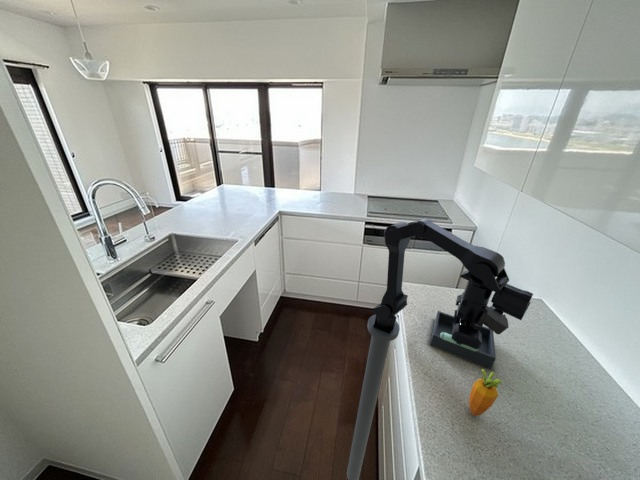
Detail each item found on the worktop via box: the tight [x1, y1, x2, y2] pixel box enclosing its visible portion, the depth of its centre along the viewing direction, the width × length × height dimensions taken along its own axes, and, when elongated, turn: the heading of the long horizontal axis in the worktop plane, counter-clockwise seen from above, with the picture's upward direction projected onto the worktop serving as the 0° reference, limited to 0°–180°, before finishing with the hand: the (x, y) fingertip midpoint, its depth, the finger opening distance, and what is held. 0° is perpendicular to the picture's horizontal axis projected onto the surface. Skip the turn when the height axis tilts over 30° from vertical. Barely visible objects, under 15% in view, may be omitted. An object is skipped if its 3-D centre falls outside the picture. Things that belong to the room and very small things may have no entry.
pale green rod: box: [440, 332, 478, 351], centre depth 73 cm, size 10×2×2 cm, turn 61°
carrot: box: [468, 368, 502, 417], centre depth 62 cm, size 5×5×15 cm
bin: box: [429, 310, 497, 370], centre depth 86 cm, size 18×14×5 cm
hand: (458, 341), depth 73 cm, fingers closed on pale green rod, 2 cm apart
